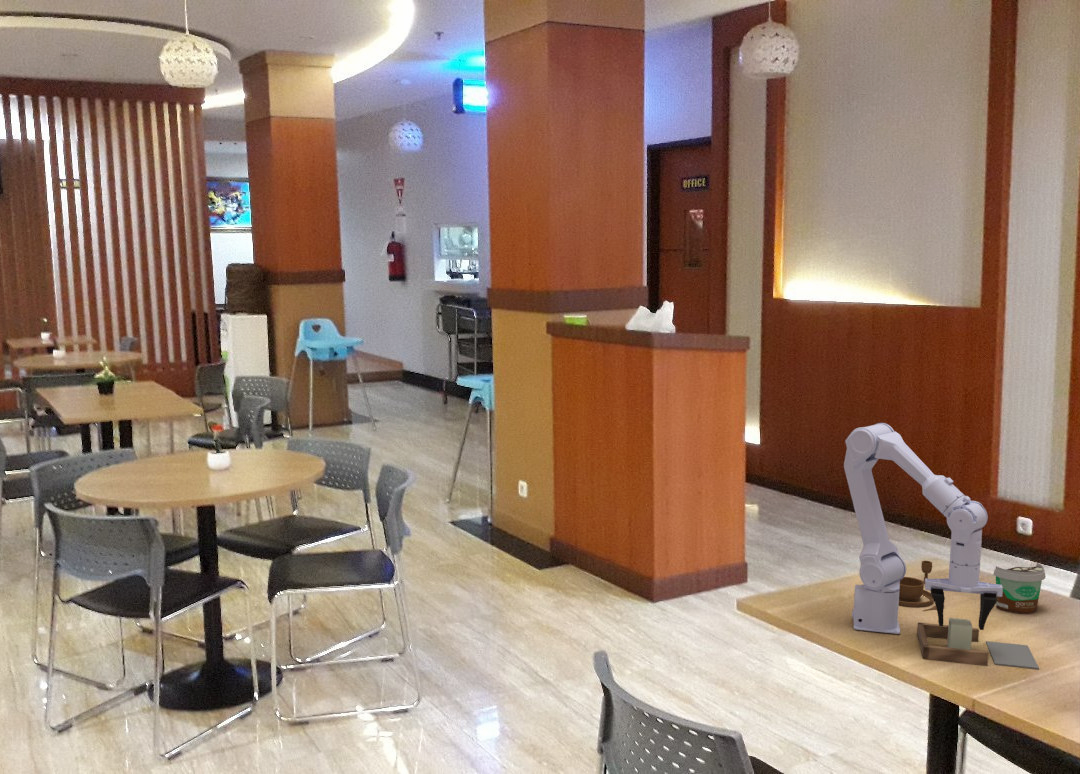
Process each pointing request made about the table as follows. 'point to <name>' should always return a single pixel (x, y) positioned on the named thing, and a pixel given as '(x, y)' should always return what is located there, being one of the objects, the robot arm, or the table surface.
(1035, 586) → the food container
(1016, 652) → the mat
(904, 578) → the place setting
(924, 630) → the open side box
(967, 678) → the table surface
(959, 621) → the sage block
